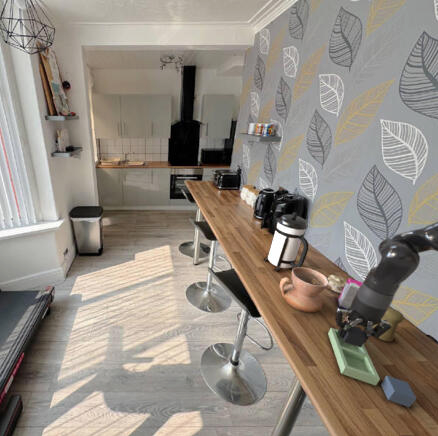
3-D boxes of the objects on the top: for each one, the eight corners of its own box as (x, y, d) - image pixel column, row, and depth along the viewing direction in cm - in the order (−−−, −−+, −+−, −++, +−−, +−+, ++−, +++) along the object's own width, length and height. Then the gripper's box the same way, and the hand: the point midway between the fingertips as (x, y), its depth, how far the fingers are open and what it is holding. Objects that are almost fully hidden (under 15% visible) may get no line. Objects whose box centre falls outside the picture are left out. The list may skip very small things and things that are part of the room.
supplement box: (357, 313, 94) (369, 291, 90) (338, 307, 97) (349, 285, 93) (355, 304, 99) (366, 282, 94) (337, 298, 102) (347, 277, 97)
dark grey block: (355, 336, 79) (360, 327, 78) (361, 347, 76) (366, 338, 74) (339, 331, 81) (344, 323, 79) (343, 342, 77) (348, 333, 75)
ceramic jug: (315, 295, 103) (327, 269, 97) (329, 321, 90) (343, 292, 84) (271, 287, 107) (279, 261, 101) (278, 310, 94) (288, 282, 89)
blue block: (400, 390, 68) (407, 382, 66) (409, 407, 64) (416, 398, 62) (380, 384, 69) (386, 375, 68) (387, 399, 65) (394, 391, 64)
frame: (356, 342, 82) (359, 336, 81) (375, 385, 69) (380, 379, 67) (327, 333, 85) (330, 327, 84) (341, 373, 72) (345, 367, 70)
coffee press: (259, 265, 122) (274, 213, 110) (268, 253, 134) (282, 204, 121) (297, 280, 112) (317, 224, 100) (303, 266, 123) (322, 213, 111)
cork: (397, 340, 83) (412, 317, 79) (383, 342, 82) (397, 319, 78) (379, 326, 89) (392, 304, 84) (366, 328, 88) (378, 305, 83)
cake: (346, 285, 111) (352, 276, 109) (349, 298, 103) (355, 288, 101) (322, 276, 116) (327, 267, 113) (323, 287, 108) (328, 278, 105)
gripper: (348, 300, 70) (328, 339, 77) (409, 316, 66) (382, 357, 73) (340, 285, 77) (322, 323, 84) (396, 298, 72) (372, 337, 79)
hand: (350, 338), depth 78 cm, fingers closed on dark grey block, 4 cm apart
